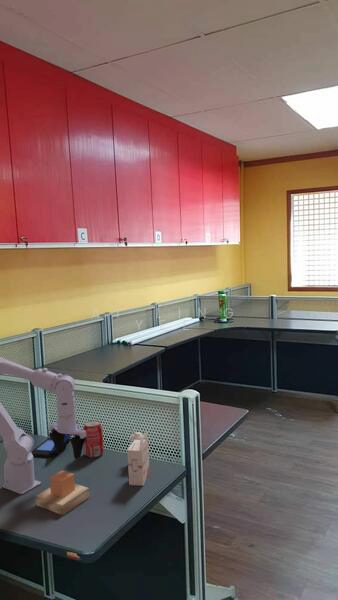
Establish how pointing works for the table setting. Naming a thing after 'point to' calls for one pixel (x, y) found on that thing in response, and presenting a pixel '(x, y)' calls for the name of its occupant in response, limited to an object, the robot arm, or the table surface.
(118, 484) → the table surface
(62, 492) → the orange cube
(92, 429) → the soda can
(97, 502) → the table surface
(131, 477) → the ink cartridge box
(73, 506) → the birch block
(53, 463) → the table surface
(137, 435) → the white figurine
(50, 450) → the handheld game console
